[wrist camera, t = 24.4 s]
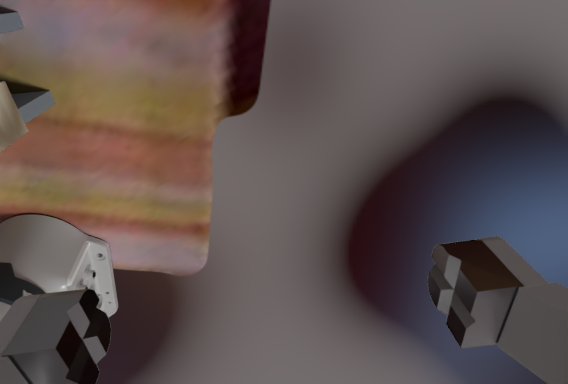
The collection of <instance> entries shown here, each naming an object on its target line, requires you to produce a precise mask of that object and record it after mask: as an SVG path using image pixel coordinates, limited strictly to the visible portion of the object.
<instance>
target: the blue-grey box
mask: <svg viewBox="0 0 568 384" xmlns="http://www.w3.org/2000/svg"><path fill="white" fill-rule="evenodd" d="M23 28H24V26H23V24H22V21H21V19H20V17H19V14H18V12H11V13H0V34H2V33H6V32H10V31H15V30H19V29H23ZM11 96H12V98H13V100H14V102H15V104H16V106H17V108H18V111H19V113H20V115H21V117H22V119H23V121H24V123H25V124H26V123H27V122H29V121H30V120H32V119H33V118H35V117H36V116H38V115H39V114H41V113H42V112H44V111H45V110H46V109H48V108H49V107H51V106H52V105H54V104H55V102H54V100H53V97H52V95H51V92H50V91H39V92H29V93H18V94H11Z"/></svg>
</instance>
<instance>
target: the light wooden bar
mask: <svg viewBox="0 0 568 384" xmlns="http://www.w3.org/2000/svg"><path fill="white" fill-rule="evenodd" d="M27 132H28V130H27V128H26V126H25V123H24V121H23V119H22V117H21V115H20V113H19V111H18V108H17V106H16V104H15V102H14V100H13V98H12V96H11V93H10V91H9V89H8V87H7V85H6V83H5V81H0V152H1V151H2V150H4V149H5V148H6V147H8V146H9V145H10V144H12V143H13V142H15V141H16V140H17V139H19V138H20V137H22V136H23V135H24V134H26V133H27Z"/></svg>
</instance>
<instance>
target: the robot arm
mask: <svg viewBox="0 0 568 384" xmlns="http://www.w3.org/2000/svg"><path fill="white" fill-rule="evenodd" d="M99 253H100V254H99ZM101 254H102V255H101ZM432 259H433V261H434V262H435V265H434V266H433V267H432V268H431V269H430V270H429V273H428V281H427V282H428V289H429V293H430V296H431V299H432V301H433V303H434V304H435V306H436V308H437V309H438V310H440V311H441V312H443V313H445V314H446V315H448V317H447V322H446V324H447V326H448V328H449V329H450V331H451V333H452V335H453V336H454V338H455V340H456V341H457V343H458V344H459V346H460V348H468V347H476V346H485V345H494V344H498V345H497V346H498V347H499V348H500V349H502V350H503V351H504V352H506V353H507V354H508V355H510V356H511V357H513V358H514V359H515V360H516V361H518V362H519V363H521V364H522V365H523V366H525V367H526V368H527V369H529V370H530V371H531V372H533V373H534V374H536V375H537V376H538V377H539V378H541V379H542V380H543V381H545V382H546V383H548V384H568V288H567V287H564V286H562V285H559V284H557V283H548V282H547V281H546V280H545V279H544V278H543V277H542V276H541V275H540V274H539V273H538V272H536V270H534V268H533V267H532V266H531V265H530V264H528V263H527V262H526V261H525V260H524V259H523V258H522V257H521V256H520V255H519V254H518V253H517V252H516V251H515V250H514V249H513V248H512V247H511V246H510V245H509V244H508V243H507V242H506V241H505V240H504V239H502V238H500V237H498V236H495V237H488V238H480V239H476V240H467V241H460V242H453V243H445V244H438V245H436V246H435V247H434V249H433V252H432ZM117 309H118V301H117V294H116V288H115V281H114V276H113V269H112V262H111V256H110V249H109V245H108V244H107V243H106V242H105V241H103V240H100V239H97V238H94V237H91V236H88V235H86V234H84V233H83V232H81V231H80V230H78V229H77V228H75V227H74V226H72V225H70V224H68V223H66V222H64V221H62V220H59V219H56V218H53V217H49V216H43V215H20V216H15V217H12V218H9V219H7V220H5V221H3V222H2V223H0V384H96V381H97V379H98V376H99V373H100V371H99V369H98V367H97V365H96V364H97V363H98V361H100V360H101V359H102V358H103V357H104V356H105V355H106V353H107V350H108V347H109V344H110V337H111V326H110V321H109V318H108V317H109V316H111V315H113V314H114V313H115V312H116V311H117Z"/></svg>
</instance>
